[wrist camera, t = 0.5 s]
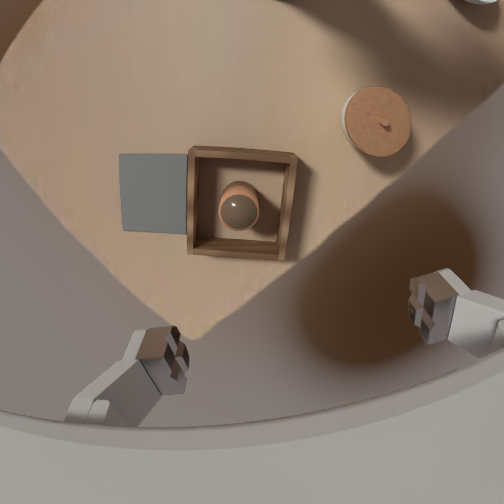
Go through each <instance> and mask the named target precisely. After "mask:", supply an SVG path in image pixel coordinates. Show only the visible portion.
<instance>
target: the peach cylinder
mask: <svg viewBox="0 0 504 504" xmlns="http://www.w3.org/2000/svg"><path fill="white" fill-rule="evenodd" d="M218 213H219V218H220V220H221V222H222V223H223V224H224V225H225V226H226V227H227V228H229V229H231V230H234V231H243V230H247V229H249V228H251V227H252V226H253V225H254V224H255V223H256V222H257V220H258V217H259V203H258V195H257V192H256V190H255V188H254V187H253V186H252V185H251V184H249V183H247V182H244V181H236V182H232V183H230V184H229V185H228V186H227V187H226V188H225V189H224V191H223V194H222V197H221V201H220V205H219V210H218Z"/></svg>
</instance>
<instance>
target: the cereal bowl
mask: <svg viewBox="0 0 504 504" xmlns="http://www.w3.org/2000/svg"><path fill="white" fill-rule="evenodd" d="M465 1H467V2H470V3H474V4H478V5H479V4H481V5H485V4H490V3H494V2H496V1H497V0H465Z"/></svg>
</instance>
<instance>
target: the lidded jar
mask: <svg viewBox="0 0 504 504" xmlns="http://www.w3.org/2000/svg"><path fill="white" fill-rule="evenodd" d="M340 124H341V128H342V130H343V133H344V134H345V136H346V138H347V139H348V140H349V141H350V142H351V143H352V144H353V145H354V146H355V147H356V148H358V149H359V150H361V151H362V152H364V153H366V154H368V155H370V156H374V157H387V156H391V155H393V154H395V153H397V152H398V151H400V150H401V149H402V148H403V147H404V145H405V144H406V142H407V141H408V139H409V136H410V133H411V126H412V123H411V115H410V112H409V109H408V107H407V105H406V103H405V102H404V100H403V99H402V98H401V97H400V96H399V95H398V94H397V93H396V92H394V91H393V90H391V89H388V88H386V87H381V86H372V87H367V88H363V89H360V90H358V91H356V92H354V93H353V94H351V95H350V96H349V97H348V98H347V99H346V101H345V102H344V104H343V106H342V108H341V112H340Z"/></svg>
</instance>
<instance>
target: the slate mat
mask: <svg viewBox="0 0 504 504" xmlns="http://www.w3.org/2000/svg"><path fill="white" fill-rule="evenodd" d="M187 156H188V155H185V154H119V174H120V197H121V213H122V226H123V230H124V231H142V232H159V233H176V234H186V195H187Z"/></svg>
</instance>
